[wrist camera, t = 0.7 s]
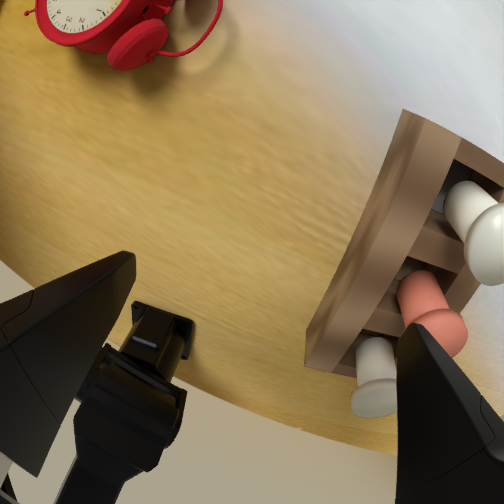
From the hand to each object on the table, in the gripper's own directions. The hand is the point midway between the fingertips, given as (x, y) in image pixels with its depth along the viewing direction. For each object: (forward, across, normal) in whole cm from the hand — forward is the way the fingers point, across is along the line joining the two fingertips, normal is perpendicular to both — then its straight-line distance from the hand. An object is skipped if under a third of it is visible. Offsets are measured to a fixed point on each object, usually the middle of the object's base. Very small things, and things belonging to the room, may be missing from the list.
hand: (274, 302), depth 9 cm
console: (+13, -10, +4) cm, 17 cm away
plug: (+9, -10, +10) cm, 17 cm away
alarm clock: (+13, +14, -11) cm, 22 cm away
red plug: (+9, -10, +4) cm, 14 cm away
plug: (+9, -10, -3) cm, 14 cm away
